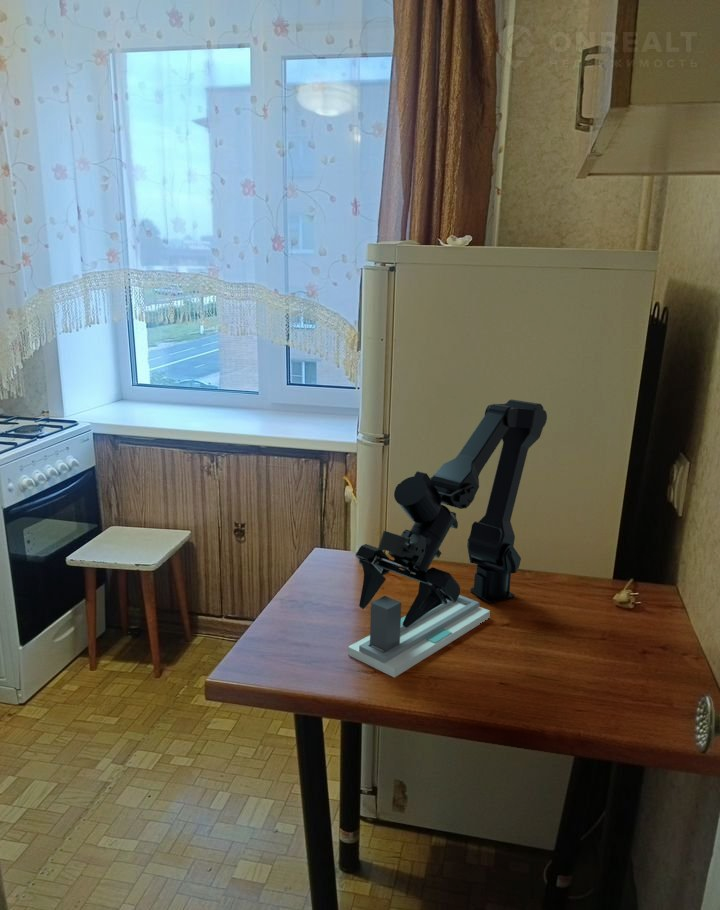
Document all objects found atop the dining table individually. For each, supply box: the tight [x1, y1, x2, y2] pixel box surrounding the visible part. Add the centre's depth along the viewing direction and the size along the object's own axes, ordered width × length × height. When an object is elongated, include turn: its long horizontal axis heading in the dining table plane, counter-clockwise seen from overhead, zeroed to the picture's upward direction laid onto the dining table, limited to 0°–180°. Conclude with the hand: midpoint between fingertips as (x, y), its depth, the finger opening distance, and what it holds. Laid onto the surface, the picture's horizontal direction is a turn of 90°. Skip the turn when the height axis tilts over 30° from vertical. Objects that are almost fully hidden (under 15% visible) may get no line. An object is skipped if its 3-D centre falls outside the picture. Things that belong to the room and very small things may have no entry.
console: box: [347, 594, 491, 679], centre depth 128 cm, size 28×10×2 cm, turn 138°
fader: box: [369, 595, 402, 653], centre depth 119 cm, size 4×4×8 cm
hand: (382, 616), depth 118 cm, fingers open, 9 cm apart
